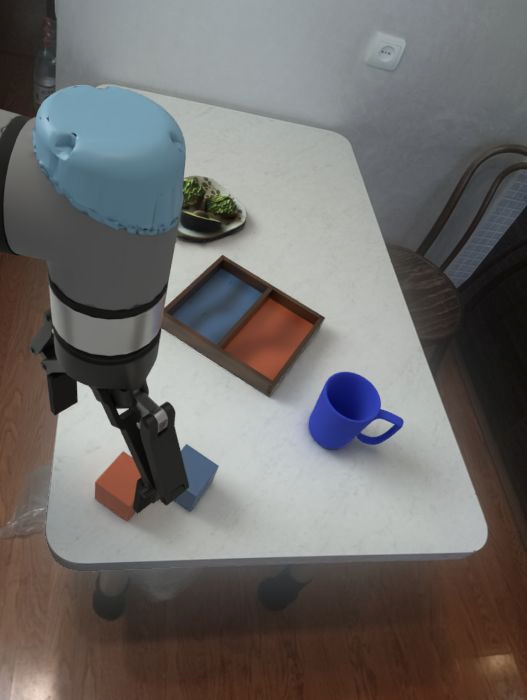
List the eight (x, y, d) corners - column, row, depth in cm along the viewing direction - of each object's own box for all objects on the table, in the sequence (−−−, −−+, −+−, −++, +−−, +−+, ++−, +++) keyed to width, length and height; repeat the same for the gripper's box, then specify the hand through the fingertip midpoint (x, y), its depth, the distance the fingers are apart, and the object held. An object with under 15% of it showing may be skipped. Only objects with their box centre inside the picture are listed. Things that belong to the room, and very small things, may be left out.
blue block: (158, 489, 69) (162, 473, 65) (181, 460, 72) (186, 443, 68) (190, 512, 68) (196, 496, 64) (212, 482, 71) (219, 465, 67)
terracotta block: (94, 498, 66) (94, 482, 62) (121, 468, 69) (123, 450, 65) (127, 522, 65) (129, 506, 61) (152, 490, 68) (156, 474, 64)
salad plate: (122, 187, 102) (124, 167, 99) (199, 168, 112) (203, 149, 108) (180, 253, 95) (183, 233, 92) (256, 227, 105) (262, 208, 101)
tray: (157, 324, 84) (159, 312, 82) (219, 266, 96) (222, 254, 93) (269, 397, 81) (274, 386, 79) (319, 328, 93) (325, 317, 90)
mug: (371, 476, 78) (402, 444, 70) (295, 442, 78) (317, 407, 70) (381, 431, 83) (411, 396, 75) (309, 399, 83) (332, 362, 75)
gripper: (267, 411, 37) (213, 521, 53) (54, 200, 44) (64, 354, 60) (183, 476, 32) (152, 574, 49) (-38, 231, 40) (0, 387, 56)
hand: (103, 452), depth 54 cm, fingers open, 13 cm apart
